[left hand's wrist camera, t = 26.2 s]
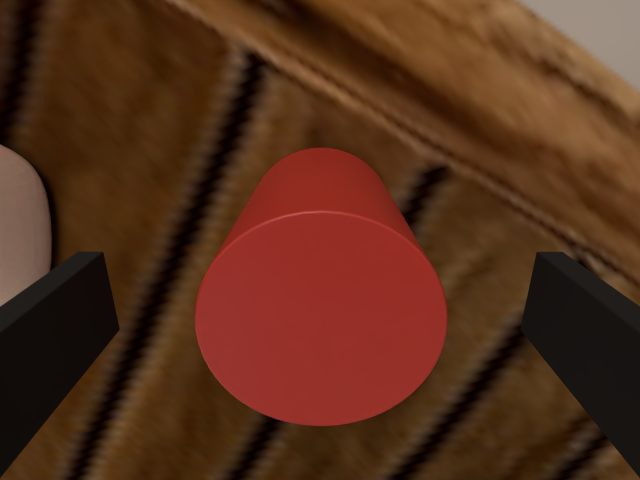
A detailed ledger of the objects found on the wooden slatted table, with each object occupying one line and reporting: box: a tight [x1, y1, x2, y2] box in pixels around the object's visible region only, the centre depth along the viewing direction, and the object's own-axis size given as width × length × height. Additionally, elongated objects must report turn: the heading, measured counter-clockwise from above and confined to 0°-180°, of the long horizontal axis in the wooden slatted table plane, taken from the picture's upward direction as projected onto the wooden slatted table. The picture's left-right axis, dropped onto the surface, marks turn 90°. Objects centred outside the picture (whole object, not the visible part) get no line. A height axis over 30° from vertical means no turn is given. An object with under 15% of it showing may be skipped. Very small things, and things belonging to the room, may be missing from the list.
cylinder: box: [195, 148, 448, 426], centre depth 14 cm, size 6×6×9 cm
